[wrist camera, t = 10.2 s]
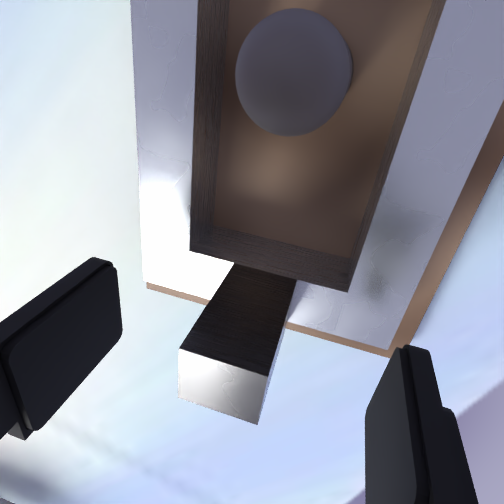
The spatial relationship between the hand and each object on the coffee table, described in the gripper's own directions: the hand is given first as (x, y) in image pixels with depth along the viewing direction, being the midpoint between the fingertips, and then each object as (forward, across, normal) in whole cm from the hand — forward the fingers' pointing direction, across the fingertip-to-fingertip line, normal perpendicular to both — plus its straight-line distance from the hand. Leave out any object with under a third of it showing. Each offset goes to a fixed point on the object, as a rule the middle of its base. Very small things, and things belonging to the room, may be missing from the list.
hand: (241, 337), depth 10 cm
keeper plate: (+6, 0, -6) cm, 9 cm away
